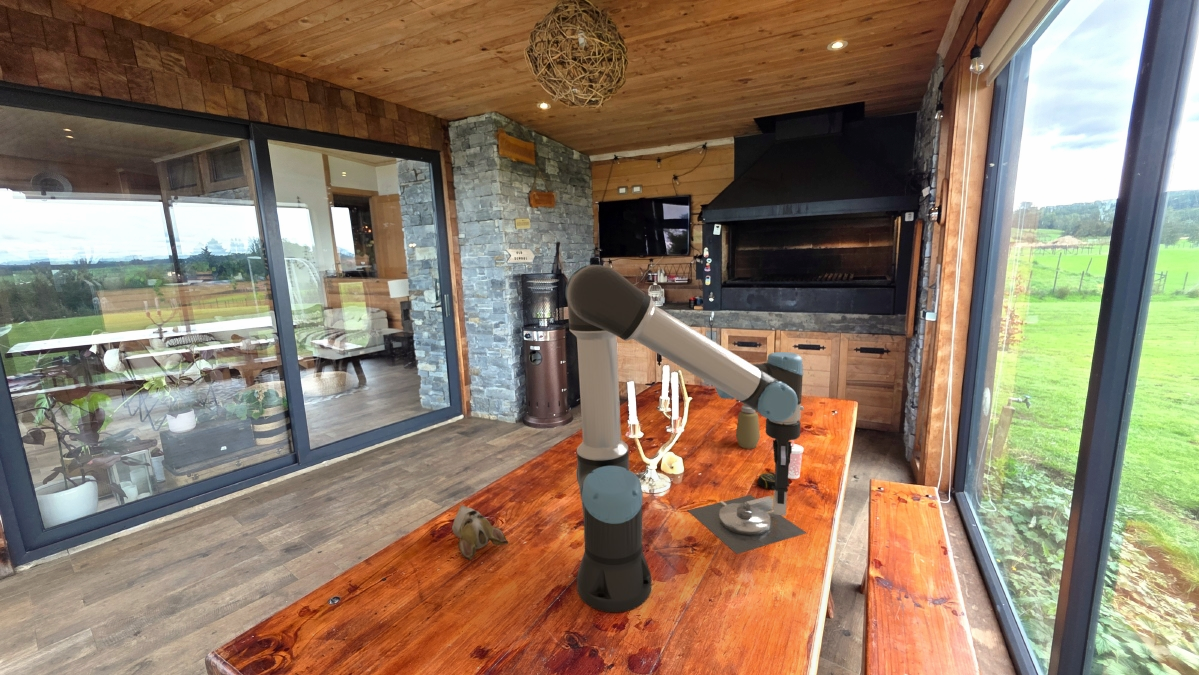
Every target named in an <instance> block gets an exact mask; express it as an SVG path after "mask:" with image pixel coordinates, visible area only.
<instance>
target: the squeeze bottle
mask: <svg viewBox="0 0 1199 675" xmlns="http://www.w3.org/2000/svg"><path fill="white" fill-rule="evenodd" d="M759 420H760V419H759V413H758V412H757V411H755V410H753V409H752V408H750V407H748V406H747V405H745V404H743V405H741V411H739V412H738V416H737V425H736V432H735V437H736V438H735V439H737V444H738V445H739V447H741V448H743V449H748V450H749V449H750V450H751V449H755V448H757V445H758V443H759V441H760V439H761V438H760V436H761V433H760V423H759V422H760V421H759Z"/></svg>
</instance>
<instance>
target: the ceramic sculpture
mask: <svg viewBox="0 0 1199 675" xmlns="http://www.w3.org/2000/svg"><path fill="white" fill-rule="evenodd" d="M451 526H452V527H451V529H452V533H453V534H454V535H455V537H457V538H458V539H459V541H458V544H457V546H458V549H459V553H460V554H461V556H462V557H463V558H464V559H466V560H468V561H472V559H473V558H474V557H475V555H476V554H477V550H479V549H481V548H484V547H486V546H487V545H488V544H489V542H490V541H491V544H493V546H503V545H504V546H505V545H508V544H509V541H508V540H507V538H506V536H505V534H504V532H503V530H501V529H500V528H499V527H498V526H493V525H492V524H491V522H490V521H489V520H488V519H487V518H486V517H485V516H484V515H482V514H481V513H480V512H479V511H478V510H475V509H473V508H471V507H468V506H465V505H463V504H461V505H460V506H459V508H458V511H457V513H456V516H454V519H453V524H452V525H451Z"/></svg>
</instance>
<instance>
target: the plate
mask: <svg viewBox="0 0 1199 675" xmlns="http://www.w3.org/2000/svg"><path fill="white" fill-rule="evenodd" d="M755 499H757V498H756V497H755V496H753V495H751V494H749V495H745V496H740V497H736V498H732V499H729V500H725V501H723V500H719V502H716V503H712V504H709V505H704V506H700V507H696V508H691V509H688V510H687V512H688V513H689V514H691V516H693V517H694V518H695V519H696V520H697V521H699V522H700V523H701V524H702V525H703V526H704V527H706V528H707V530H709V531H710V533H712V534H713V535H714V536H716V537H717V538H718V539H719V540H720V541H721V542H722V543H723V544H724V545H725V546H726V547H728V549H730V550H731V551H732V552H734V553H735V554H736V555H738V554H741V553H745V552H748V551H751V550H755V549H758V548H762V547H765V546H768V545H772V544H776V543H777V542H778V543H779V542H781V541H785V540H789V539H792V538H794V537H799V536H802V535H805V534H807V532H806V531H804V530H803V529H801V527H799V526H797V525H796V524H795V523H793V522H792V521H791V520H788V519H787V518H785V517H784V515H776V514H774V510H771V511H768V512H767V513H768V514H769V516H770V528H769V529H768V531H766V532H764V533H762V534H758V535H744V534H739V533H735V532H733V531H730V530H728V529H727V528H725V527H724V526H723V525H722V524H721V523H720V520H719V512H720V509H721V508H722V507H724V506H726V505H728V504H733V503H744V504H746V502H747V501H751V500H755Z"/></svg>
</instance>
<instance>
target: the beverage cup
mask: <svg viewBox="0 0 1199 675" xmlns="http://www.w3.org/2000/svg"><path fill="white" fill-rule="evenodd" d="M791 446H792V453H791V454H790V464H789V471H788V479H792V480H795V479H800V476H801V466H802V461H803V460H802V459H803V452H804V447H803V446H802V445H800V444H796V443H795V440H791Z"/></svg>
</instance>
